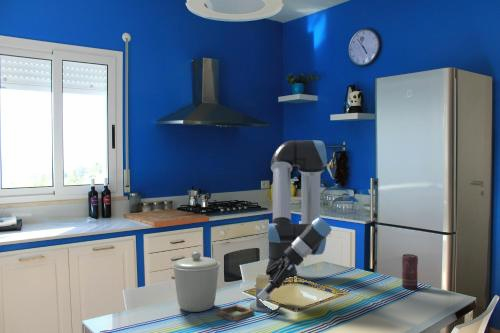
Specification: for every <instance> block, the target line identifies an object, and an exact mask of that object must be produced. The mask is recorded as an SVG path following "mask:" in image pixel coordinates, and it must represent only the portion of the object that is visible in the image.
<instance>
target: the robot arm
mask: <svg viewBox="0 0 500 333" xmlns="http://www.w3.org/2000/svg"><path fill="white" fill-rule="evenodd" d="M326 150H327V148H326V146H325V143H324V141H322V140H315V139H311V140H309V139H308V140H288V141H286V142H283V143H282V144H280V146H278V147H277V149H276V150H275V152H273V155H272V158H271V161H270V170H271V171H272V174H273V175H272V223H268V225H267V240H268V263H267V266H266V270H265V273H263V275H270V283H269V284H268V285H267V286H266V287H265V288H264V289H263V290H262V291H261V292H260V293H259V294H258V297H259V298H260V299H261V300H262V301H264V300H265V299H266V298H267V297H268V296H269V295H270V296H271V293H273V292H274V290H276V289H279V288H280V287H281V285H283V283H284V282H285V281H286V280H285V279H286V278H289V277H294V276H298V270H297V267H298V266H301V264H302V263H303V262H304V261H305V260H304V258H305V259H306V258H307V257H308V256H318V255H320V256H321V255H323V254H324V252H325V250H326V246H327V245H326V244H327V237H328V235H329V234H331V233H332V231H333V230H332V227H331V226H330V224H329V223H327V222H326V221H325V220H324V219H323V218H322V217H321V174H322V173H323V172H324V171H325V168H326V167H327V166H328V156H327V151H326ZM293 167H297V171H298V172H299V173H300V174H301V177H300V178H301V181H300V182H301V184H300V185H301V187H300V188H301V197H300V198H301V201H300V202H301V203H300V204H301V205H300V206H301V219H300V221H301V223H292V206H291V205H292V199H291V197H292V196H291V193H292V192H291V184H292V183H291V182H292V181H291V172H292V170H293ZM253 286H254V287H255V288H256V282H255V283H254V285H253Z"/></svg>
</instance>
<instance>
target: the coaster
mask: <svg viewBox="0 0 500 333" xmlns="http://www.w3.org/2000/svg"><path fill="white" fill-rule="evenodd" d="M249 309H251V310H254V312H256V313H271V312H275V311H274V310H272V309H270V308H260V307H256V301H254V302H251V303H250V305H249Z"/></svg>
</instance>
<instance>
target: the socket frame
mask: <svg viewBox="0 0 500 333" xmlns="http://www.w3.org/2000/svg"><path fill="white" fill-rule="evenodd" d="M233 311H238V312H240V313H237V314H233V313H231V312H233ZM253 315H255V311H254V310H251V309H250V308H249V307H246V306H242V305H238V304H233V305H230V306H228V307H223V308H221V309H218V310H216V316H219V317H221V318H224V319H226V320H230V321H232V322H236V321H239V320H243V319H245V318H248V317H251V316H253Z"/></svg>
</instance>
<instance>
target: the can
mask: <svg viewBox="0 0 500 333" xmlns="http://www.w3.org/2000/svg"><path fill="white" fill-rule="evenodd" d="M401 263H402V264H401V271H402V272H401V273H402V274H401V281H402V282H401V285H402V289H405V290H411V291H414V290H415V291H416V290H417V289H418V264H419V258H418V255H417V254H416V255H415V254H411V253H410V254H409V253H406V254H403V255H402V256H401Z"/></svg>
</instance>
